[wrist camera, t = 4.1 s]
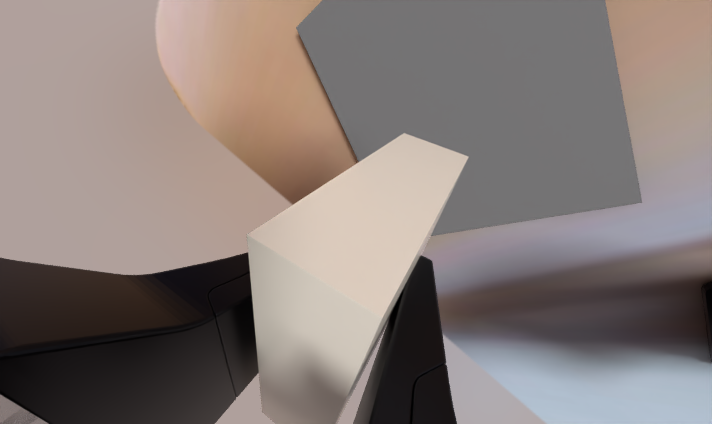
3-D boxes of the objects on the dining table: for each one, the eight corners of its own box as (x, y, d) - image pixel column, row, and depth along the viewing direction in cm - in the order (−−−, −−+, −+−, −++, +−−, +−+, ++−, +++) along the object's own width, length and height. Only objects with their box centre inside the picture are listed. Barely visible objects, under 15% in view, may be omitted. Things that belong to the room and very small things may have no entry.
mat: (637, 196, 14) (642, 202, 14) (399, 236, 23) (395, 241, 23) (557, -227, 10) (559, -245, 9) (303, 28, 19) (296, 27, 18)
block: (404, 132, 8) (246, 234, 3) (468, 156, 7) (382, 317, 3) (359, 278, 12) (262, 412, 8) (398, 301, 11) (318, 460, 7)
